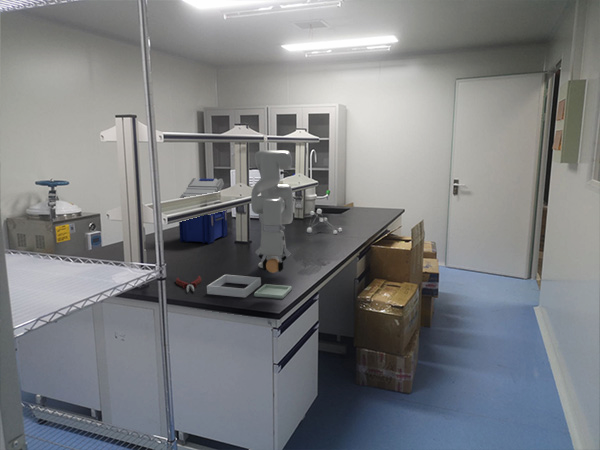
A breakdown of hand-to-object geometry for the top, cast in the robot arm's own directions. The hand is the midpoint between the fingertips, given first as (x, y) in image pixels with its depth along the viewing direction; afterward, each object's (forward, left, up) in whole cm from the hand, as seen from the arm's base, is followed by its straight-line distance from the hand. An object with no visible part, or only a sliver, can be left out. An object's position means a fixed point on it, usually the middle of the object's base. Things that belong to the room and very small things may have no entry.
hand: (273, 269), depth 191 cm
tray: (0, 0, -10) cm, 10 cm away
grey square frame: (0, -18, -10) cm, 21 cm away
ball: (0, 0, +2) cm, 2 cm away
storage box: (-91, -82, -11) cm, 123 cm away
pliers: (+1, -41, -11) cm, 43 cm away
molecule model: (-135, -10, -11) cm, 136 cm away
